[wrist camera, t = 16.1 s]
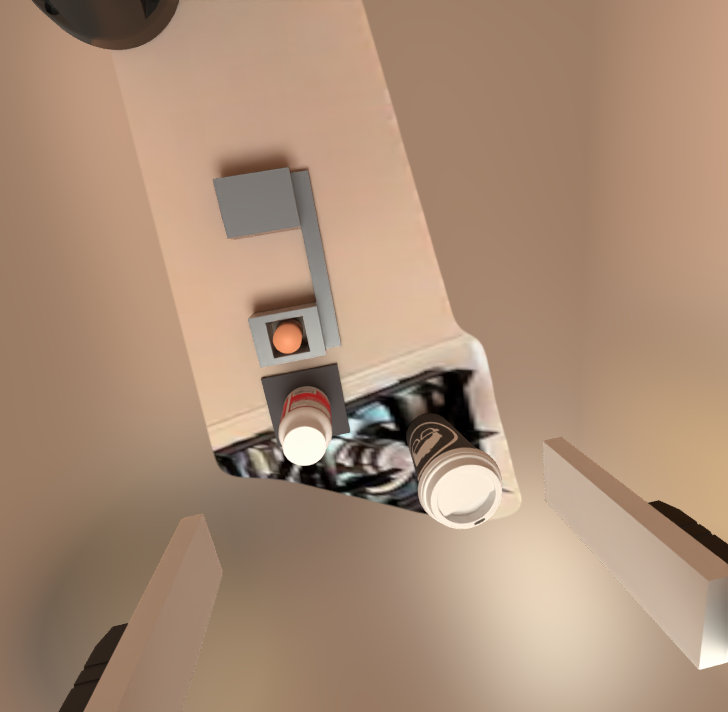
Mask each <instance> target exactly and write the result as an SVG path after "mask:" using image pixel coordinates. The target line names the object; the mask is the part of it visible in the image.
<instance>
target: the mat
mask: <svg viewBox="0 0 728 712" xmlns="http://www.w3.org/2000/svg"><path fill="white" fill-rule="evenodd" d="M261 381H262V385H263V389H264V393H265V396H266V400H267V404H268V408H269V412H270V416H271V420H272V424H273V428H274V432H275V436H276V439H277V443H278V447H282V445H281V443H280V440H279V425H280V420H281V416H282V411H283V406H284V403H285V400H286V398H287V396H288V395H289V394H290V393H291V392H292V391H294V390H295V389H297V388H300V387H305V386H310V387H315V388H317V389H319V390H321V391H322V392H323V393H324V394H325V395H326V396H327V398H328V400H329V403H330V410H331V421H332V436H335V435H340V434H345V433H350V429H349V424H348V419H347V414H346V409H345V404H344V398H343V393H342V388H341V383H340V378H339V373H338V368H337V364H333V365H327V366H322V367H317V368H312V369H307V370H302V371H296V372H291V373H286V374H281V375H276V376H270V377H265V378H262V379H261Z"/></svg>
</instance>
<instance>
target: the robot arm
mask: <svg viewBox="0 0 728 712" xmlns="http://www.w3.org/2000/svg"><path fill="white" fill-rule="evenodd" d="M32 1H33V2H34V4H35V5H36V6H37V7H38V8H39V9H40V10H41V11H42V12H44V13H45V14H46V15H47V16H48V17H49V18H50V19H51V20H52V21H54V22H55V23H56V24H57V25H58V26H60V27H61V28H62V29H63V30H65V31H66V32H67V33H69V34H70V35H72V36H73V37H75V38H77V39H79V40H81V41H83V42H85V43H87V44H90V45H93V46H96V47H100V48H104V49H112V50H123V49H130V48H134V47H138V46H141V45H143V44H145V43H147V42H149V41H151V40H152V39H154V38H155V37H156V36H157V35H159V34H160V33H161V32H162V31H163V30H164V28H165V27H166V26H167V25H168V23H169V22H170V20H171V18H172V17H173V15H174V13H175V10H176V8H177V5H178V2H179V0H32ZM543 456H544V457H543V458H544V485H545V501H546V502H547V503H548V504H549V505H550V507H551V508H552V509H553V510H554V511H555V512H556V513H557V514H558V515H559V516H560V517H561V518H562V520H563V521H564V522H565V523H566V524H567V525H568V526H569V527H570V528H571V530H572V531H573V532H574V533H575V534H576V535H577V536H578V537H579V538H580V540H581V541H582V542H583V543H584V544H585V545H586V546H587V547H588V548H589V549H590V551H591V552H592V553H593V554H594V555H595V556H596V557H597V558H598V559H599V560H600V562H601V563H602V564H603V565H604V566H605V567H606V568H607V569H608V570H609V571H610V573H612V575H613V576H614V577H615V578H616V579H617V580H618V581H619V582H620V584H621V585H622V586H623V587H624V588H625V589H626V590H627V591H628V592H629V593H630V595H632V597H633V598H634V599H635V600H636V601H637V602H638V603H639V604H640V605H641V607H642V608H643V609H644V610H645V611H646V612H647V613H648V614H649V615H650V616H651V618H652V619H653V620H654V621H655V622H656V623H657V624H658V625H659V626H660V628H661V629H662V630H663V631H664V632H665V633H666V634H667V635H668V636H669V637H670V638H671V639H672V641H673V642H674V643H675V644H676V645H677V646H678V647H679V648H680V650H682V652H683V653H684V654H685V655H686V656H687V657H688V658H689V659H690V660H691V662H692V663H693V664H694V665H695V666H696V667H697V668H698V669H699V670H700V669H704V668H708V667H711V666H715V665H719V664H723V663H726V662H728V544H727V543H726V542H724V541H723V540H721V539H720V538H718V537H717V536H716V535H712V534H711V532H710V531H709V530H707V529H706V528H705V527H703V526H702V525H700V524H699V525H698V524H697V522H696V521H695V520H693V519H692V518H691V517H689V516H688V515H686V514H685V513H684V512H682V511H681V510H679V509H677V508H675V507H673V506H670V505H668V504H666V503H663V502H661V501H659V500H658V501H654V502H650V503H647V502H646V501H644V500H643V499H642V498H640V497H639V496H638V495H637V494H635V493H634V492H633V491H631V490H630V489H629V488H627V487H626V486H625V485H624V484H622V483H621V482H619V481H618V480H617V479H615V478H614V477H613V476H612V475H610V474H609V473H608V472H606V471H605V470H604V469H602V468H601V467H600V466H599V465H597V464H596V463H595V462H593V461H592V460H591V459H589V458H588V457H587V456H586V455H584V454H583V453H582V452H580V451H579V450H578V449H576V448H575V447H574V446H572V445H571V444H570V443H569V442H567V441H566V440H564V439H563V438H562V437H560V438H555V439H550V440H545V441H543ZM222 575H223V571H222V569H221V566H220V563H219V560H218V557H217V554H216V551H215V548H214V545H213V542H212V539H211V536H210V533H209V530H208V527H207V524H206V521H205V518H204V515H203V514H199V515H195V516H190V517H185V518H182V519H181V521H180V523H179V525H178V527H177V529H176V531H175V533H174V535H173V537H172V539H171V541H170V543H169V545H168V547H167V549H166V551H165V552H164V554H163V556H162V558H161V560H160V562H159V564H158V566H157V568H156V570H155V572H154V574H153V576H152V578H151V580H150V582H149V584H148V586H147V588H146V590H145V592H144V594H143V596H142V598H141V600H140V602H139V604H138V606H137V608H136V610H135V612H134V613H133V616H132V618H131V619H130V621H129V623H127V624H122V625H118V626H114V627H112V628H111V630H110V631H109V632H108V633H107V634H106V635H105V636H104V637H103V639H101V641H100V642H99V643H98V644H97V645H96V646H95V648H94V650H93V652H92V653H91V655H90V657H89V659H88V661H87V662H86V664H85V666H84V670H83V671H81V673H80V675H79V677H78V678H77V680H76V682H75V684H74V688H73V689H71V691H70V693H69V694H68V696H67V698H66V700H65V701H64V703H63V705H62V707H61V709H60V711H59V712H182V710H183V707H184V704H185V700H186V697H187V694H188V690H189V686H190V683H191V680H192V677H193V673H194V670H195V666H196V663H197V660H198V656H199V653H200V649H201V646H202V642H203V639H204V635H205V632H206V629H207V626H208V622H209V619H210V615H211V612H212V608H213V605H214V602H215V598H216V595H217V592H218V588H219V585H220V582H221V578H222Z"/></svg>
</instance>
